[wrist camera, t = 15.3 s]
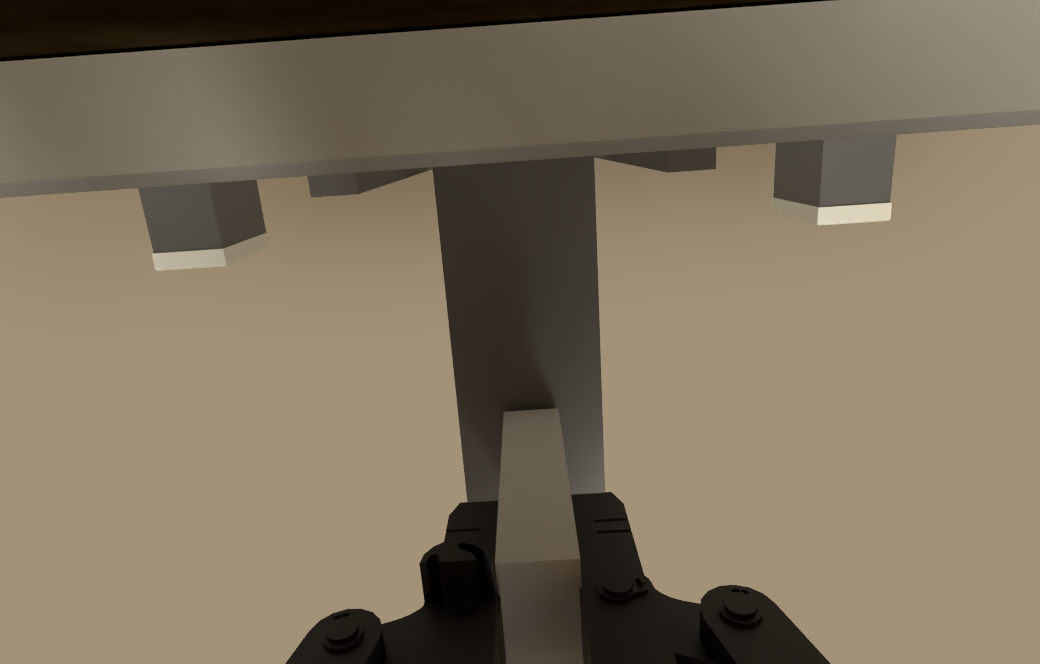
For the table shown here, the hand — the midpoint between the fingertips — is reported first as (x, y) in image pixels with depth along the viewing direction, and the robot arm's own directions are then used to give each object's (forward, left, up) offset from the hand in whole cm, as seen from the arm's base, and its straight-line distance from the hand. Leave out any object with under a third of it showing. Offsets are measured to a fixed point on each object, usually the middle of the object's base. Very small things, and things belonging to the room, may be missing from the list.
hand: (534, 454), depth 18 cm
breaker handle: (0, -2, -8) cm, 8 cm away
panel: (0, -3, -10) cm, 10 cm away
